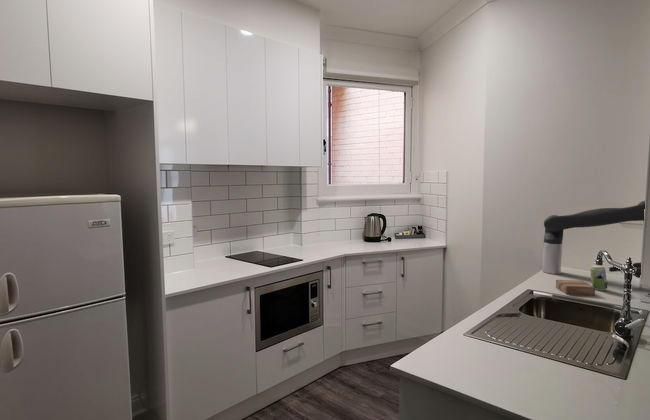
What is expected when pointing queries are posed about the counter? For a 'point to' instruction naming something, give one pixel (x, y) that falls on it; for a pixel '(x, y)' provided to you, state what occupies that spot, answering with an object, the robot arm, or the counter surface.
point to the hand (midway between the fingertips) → (617, 271)
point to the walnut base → (575, 287)
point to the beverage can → (598, 277)
